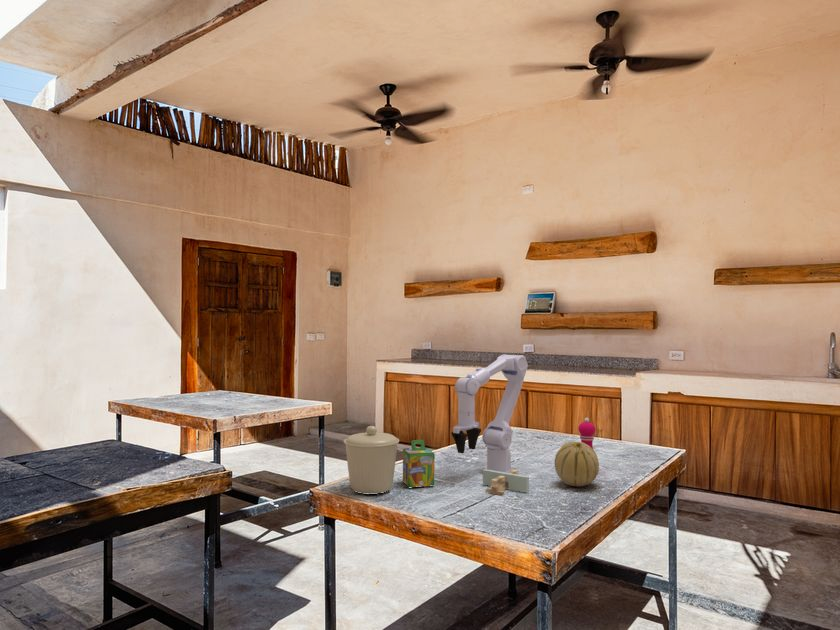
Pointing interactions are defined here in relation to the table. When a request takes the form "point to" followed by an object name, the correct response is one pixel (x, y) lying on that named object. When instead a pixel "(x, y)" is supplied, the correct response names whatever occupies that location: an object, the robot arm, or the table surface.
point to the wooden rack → (500, 484)
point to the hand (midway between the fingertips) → (466, 450)
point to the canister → (371, 460)
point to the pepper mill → (587, 432)
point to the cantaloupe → (576, 464)
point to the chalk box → (418, 465)
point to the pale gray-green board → (507, 480)
